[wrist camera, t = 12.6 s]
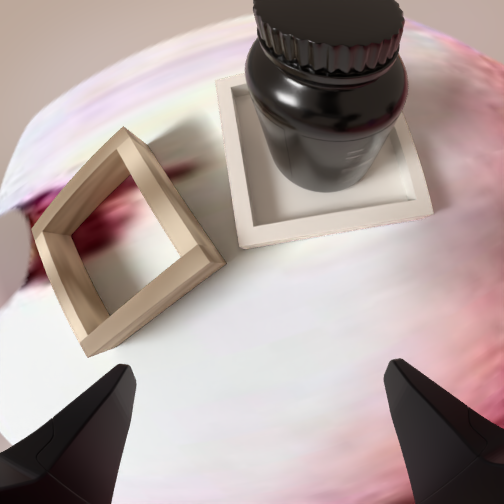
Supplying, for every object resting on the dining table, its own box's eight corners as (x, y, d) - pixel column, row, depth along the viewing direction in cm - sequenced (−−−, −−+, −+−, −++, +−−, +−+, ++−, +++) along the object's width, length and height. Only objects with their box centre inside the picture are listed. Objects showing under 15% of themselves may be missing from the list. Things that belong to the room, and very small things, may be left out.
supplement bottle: (362, 102, 17) (398, -34, 5) (378, 194, 17) (473, 91, 5) (266, 105, 18) (224, -35, 6) (271, 197, 18) (216, 86, 6)
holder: (226, 263, 19) (209, 262, 15) (115, 347, 20) (87, 357, 17) (146, 144, 20) (123, 126, 17) (59, 233, 22) (31, 229, 18)
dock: (421, 219, 17) (433, 213, 15) (245, 249, 19) (239, 246, 17) (372, 72, 18) (377, 57, 16) (222, 94, 20) (215, 80, 18)
